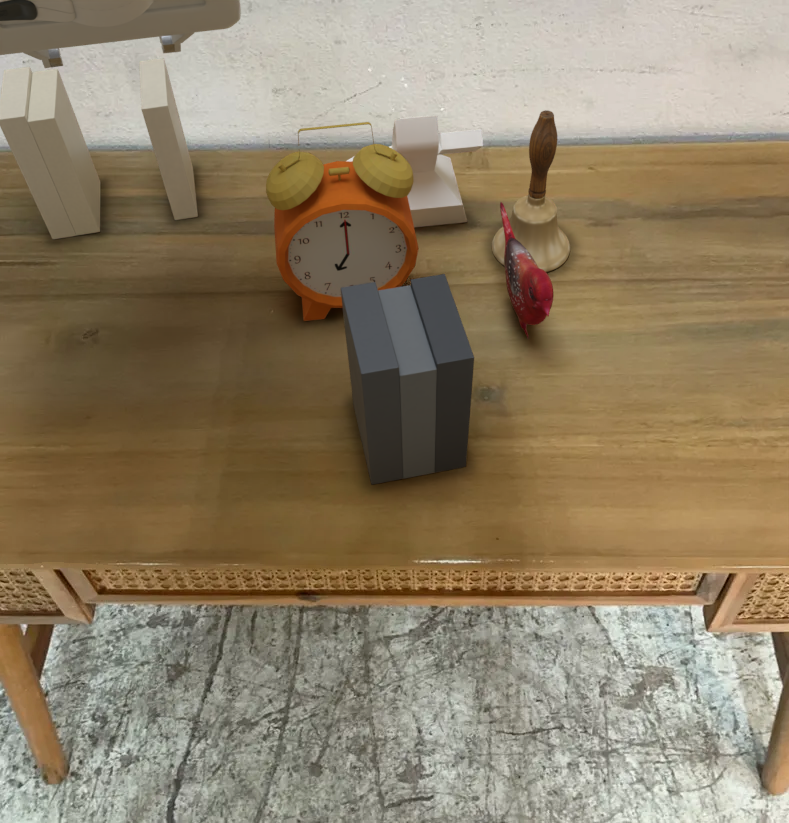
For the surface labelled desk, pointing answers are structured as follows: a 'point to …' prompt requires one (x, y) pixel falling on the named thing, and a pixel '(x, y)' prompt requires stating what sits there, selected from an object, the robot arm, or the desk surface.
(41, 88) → the white books
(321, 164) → the alarm clock
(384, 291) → the grey books
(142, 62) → the white book
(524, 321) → the decorative bird figurine
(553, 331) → the desk surface
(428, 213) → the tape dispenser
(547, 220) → the hand bell
